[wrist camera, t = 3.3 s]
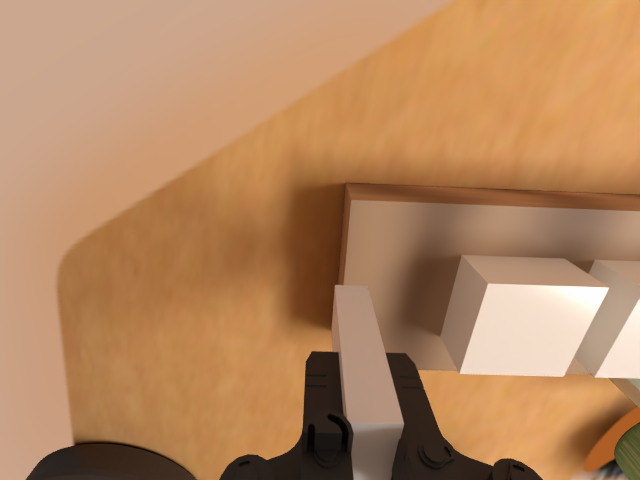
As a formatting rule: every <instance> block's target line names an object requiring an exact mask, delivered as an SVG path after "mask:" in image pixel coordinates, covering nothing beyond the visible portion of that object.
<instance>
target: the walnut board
mask: <svg viewBox="0 0 640 480" xmlns="http://www.w3.org/2000/svg"><path fill="white" fill-rule="evenodd" d="M462 255H477V256H505V257H533V258H561V259H566V260H567V261H569V262H571V263H572V264H574V265H575V266H577V267H578V268H580V269H581V270H583V271H584V272H586V273H588V274H589V272H590V270H591V267H592V265H593V263H594V261H595V260H617V261H640V195H630V194H605V193H581V192H556V191H532V190H508V189H483V188H459V187H434V186H410V185H386V184H361V183H346V184H345V196H344V209H343V222H342V234H341V247H340V259H339V272H338V285H352V286H368V289H369V293H370V297H371V301H372V304H373V308H374V312H375V316H376V319H377V323H378V327H379V331H380V335H381V338H382V342H383V346H384V350H385V353H406V354H407V355H408V356H409V357H410V359H411V360H412V361H413V362H414V363H415V365H416V368H417V370H441V371H458V370H457V368H456V366H455V364H454V362H453V360H452V359H451V357H450V355H449V353H448V351H447V349H446V347H445V345H444V343H443V341H442V339H441V337H440V335H441V332H442V328H443V324H444V320H445V317H446V313H447V309H448V305H449V301H450V298H451V294H452V290H453V286H454V283H455V279H456V275H457V271H458V267H459V264H460V260H461V256H462ZM565 374H591V373H590V372H589V371H588V370H587V369H586V368H585V367H584V366H583V365H582V364H581V363H580V362H579V361H578V360H577V359H576V358H575V357H573V359H572V361H571V363H570V365H569V367H568V369H567V371H566V373H565Z"/></svg>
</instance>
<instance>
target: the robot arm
mask: <svg viewBox="0 0 640 480" xmlns="http://www.w3.org/2000/svg"><path fill="white" fill-rule="evenodd" d="M331 332H332V350H333V352H316V351H312V352H311V354H310V356H309V357H308V359H307V361H306V371H305V393H304V415H303V430H302V435H301V437H300V439H299V441H298V442H297V444H296V445H295V446H294V447H293V448H292V449H291V450H290V451H288V452H287V453H285V454H283V455H280V456H277V457H275V458H272V459H269V460H266V459H264V458H262V457H260V456H258V455H249V454H247V455H244V456H241V457H239V458H237V459H235V460H234V461H233V462H232V463H230V464H229V465H228V466H227V468H226V469H225V471H224V472H223V474H222V475H221V477H220V479H219V480H391V477H392V474H393V479H394V480H543V479H542V478H541V477H540V476H539V475H538V474H537V473H536V472H535V471H534V470H533V469H531V468H530V467H528V466H527V465H525V464H523V463H522V462H519V461H516V460H514V459H500V460H499V461H497V462H496V463H495V464H494V466H491V465H488V464H485V463H482V462H480V461H477V460H474V459H471V458H469V457H466V456H464V455H462V454H460V453H459V452H457V451H456V450H455V449H453V447H452V445H451V444H450V443H449V442H448V441H447V440H446V439H444V438H443V436H442V434H441V432H440V430H439V428H438V425H437V422H436V420H435V417H434V414H433V411H432V409H431V406H430V403H429V400H428V398H427V395H426V392H425V390H424V387H423V384H422V381H421V379H420V376H419V373H418V370H417V368H416V365H415V363H414V362H413V361H412V360H411V359H410V357H409V356H408V355H407V354H406V353H385V350H384V346H383V342H382V338H381V335H380V331H379V327H378V323H377V319H376V316H375V312H374V308H373V304H372V301H371V297H370V293H369V289H368V286H352V285H335V291H334V304H333V318H332V331H331ZM26 480H196V479H195V478H194V477H193V476H192V475H191V474H190V473H189V472H187V471H186V470H185V469H183V468H182V467H180V466H179V465H177V464H176V463H174V462H172V461H170V460H168V459H166V458H164V457H161V456H159V455H156V454H154V453H151V452H148V451H144V450H141V449H137V448H132V447H127V446H121V445H113V444H83V445H76V446H71V447H67V448H63V449H60V450H57V451H55V452H53V453H51V454H49V455H47V456H46V457H45V458H43V459H42V460H41V461H40V462H39V463H38V464H37V466H36V467H35V468H34V469H33V471H32V472H31V473H30V475H29V476H28V477H27V479H26Z"/></svg>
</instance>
